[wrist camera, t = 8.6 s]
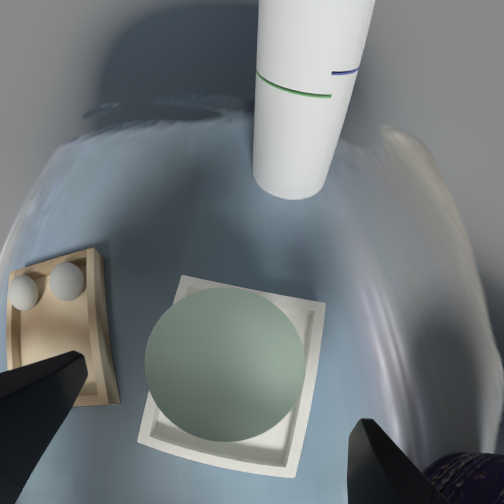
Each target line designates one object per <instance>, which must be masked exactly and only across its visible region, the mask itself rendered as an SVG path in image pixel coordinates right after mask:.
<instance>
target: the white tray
mask: <svg viewBox="0 0 504 504" xmlns="http://www.w3.org/2000/svg"><path fill="white" fill-rule="evenodd" d="M221 287H227V288H237V289H242V290H246V291H249V292H252V293H255V294H257V295H259V296H262V297H264V298H265V299H267V300H269V301H270V302H272V303H273V304H274V305H276V306H277V307H278V308H279V309H280V310H281V311H282V312H283V313H284V314H285V315H286V316H287V317H288V318H289V320H290V321H291V322H292V324H293V325H294V327H295V329H296V331H297V333H298V335H299V337H300V340H301V342H302V346H303V350H304V355H305V376H304V382H303V386H302V389H301V392H300V395H299V397H298V399H297V401H296V403H295V404H294V406H293V407H292V409H291V410H290V412H289V413H288V414H287V415H286V416H285V417H284V418H283V419H282V420H281V421H280V422H279V423H278V424H277V425H275V426H274V427H273V428H271V429H270V430H268V431H266V432H265V433H263V434H260V435H258V436H256V437H253V438H250V439H246V440H242V441H236V442H216V441H209V440H205V439H201V438H198V437H196V436H193V435H191V434H189V433H187V432H185V431H183V430H182V429H180V428H179V427H177V426H176V425H175V424H173V423H172V422H171V421H170V420H169V419H168V418H167V417H166V416H165V415H164V414H163V413H162V412H161V410H160V409H159V408H158V407H157V405H156V403H155V401H154V400H153V398H152V396H151V393H150V391H149V392H148V396H147V400H146V405H145V409H144V413H143V418H142V422H141V427H140V431H139V436H138V441H137V442H138V443H141V444H144V445H146V446H149V447H152V448H155V449H158V450H160V451H163V452H166V453H170V454H173V455H176V456H179V457H183V458H186V459H190V460H193V461H197V462H201V463H205V464H209V465H213V466H218V467H222V468H227V469H232V470H237V471H243V472H249V473H255V474H262V475H270V476H278V477H288V478H295V475H296V471H297V467H298V463H299V459H300V455H301V450H302V446H303V441H304V437H305V432H306V428H307V423H308V418H309V413H310V408H311V402H312V397H313V391H314V386H315V380H316V374H317V368H318V361H319V355H320V348H321V341H322V333H323V325H324V317H325V309H326V303H323V302H317V301H311V300H306V299H300V298H295V297H289V296H284V295H278V294H273V293H268V292H263V291H258V290H252V289H247V288H242V287H237V286H232V285H228V284H223V283H218V282H213V281H208V280H204V279H199V278H195V277H190V276H185V275H182V276H181V279H180V282H179V285H178V288H177V292H176V295H175V298H174V301H173V304H175V303H176V302H177V301H179V300H181V299H182V298H184V297H186V296H188V295H190V294H193V293H195V292H198V291H201V290H205V289H211V288H221Z"/></svg>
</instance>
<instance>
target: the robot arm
mask: <svg viewBox="0 0 504 504" xmlns="http://www.w3.org/2000/svg"><path fill="white" fill-rule="evenodd" d="M87 377H88V369H87V365H86V360H85V356H84V355H83V354H82V353H79V352H77V351H74V350H73V351H69V352H66V353H63V354H60V355H57V356H54V357H51V358H48V359H44V360H41V361H38V362H35V363H32V364H28V365H25V366H22V367H19V368H15V369H12V370H8V371H5V372H2V373H0V504H15V503H16V501H17V499H18V497H19V495H20V493H21V492H22V490H23V489H22V488H24V486H25V484H26V482H27V480H28V479H29V477H30V475H31V473H32V472H33V470H34V468H35V467H36V465H37V463H38V461H39V460H40V458H41V456H42V455H43V453H44V451H45V450H46V448H47V447H48V445H49V443H50V442H51V440H52V439H53V437H54V435H55V434H56V432H57V431H58V429H59V427H60V426H61V424H62V423H63V421H64V420H65V418H66V417H67V415H68V413H69V412H70V410H71V408H72V407H73V405H74V403H75V401H76V399H77V397H78V395H79V393H80V391H81V389H82V387H83V385H84V383H85V381H86V379H87ZM347 489H348V504H451V503H450V502H449V501H448V500H447V499H446V498H445V497H444V496H443V495H442V494H441V493H440V492H439V491H438V490H437V489H436V488H434V486H433V485H432V484H431V482H430V481H429V480H428V479H427V478H426V477H425V476H424V475H423V474H422V473H421V472H420V471H419V469H418V468H417V467H416V466H415V465H414V464H413V463H412V462H411V461H410V460H409V459H408V457H407V456H406V455H405V454H404V453H403V452H402V451H401V450H400V449H399V447H398V446H397V445H396V444H395V443H394V442H393V441H392V440H391V439H390V437H389V436H388V435H387V434H386V433H385V432H384V431H383V430H382V429H381V427H380V426H379V425H378V424H377V423H376V422H375V421H374V420H373V419H365V418H362V419H360V420H359V421H358V422H357V424H356V426H355V427H354V429H353V430H352V432H351V434H350V436H349V445H348V468H347Z"/></svg>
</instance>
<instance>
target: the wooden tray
mask: <svg viewBox="0 0 504 504" xmlns="http://www.w3.org/2000/svg"><path fill="white" fill-rule="evenodd" d="M63 262H69V263H72V264H74V265H76V266H77V267H78V268H79V269H80V270H81V272H82V274H83V277H84V288H83V291H82V293H81V294H80V296H79V297H78V298H76V299H75V300H72V301H62V300H60V299H58V298H57V297H56V296H55V295H54V294H53V293H52V291H51V289H50V285H49V277H50V274H51V271H52V270H53V268H54V267H55V266H57V265H58V264H60V263H63ZM19 275H25V276H28V277H30V278H31V279H32V280H33V281H34V282H35V284H36V286H37V288H38V300H37V303H36V304H35V306H34V307H33V308H32V309H30V310H28V311H21V310H18V309H16V308H15V307H14V306H13V305H12V304H11V302H10V300H9V297H8V299H7V323H6V340H7V364H8V370H12V369H15V368H19V367H22V366H25V365H28V364H32V363H35V362H38V361H41V360H44V359H48V358H51V357H54V356H57V355H60V354H63V353H66V352H69V351H73V350H74V351H77V352H79V353H82V354H83V355H84V356H85V360H86V365H87V369H88V377H87V379H86V381H85V383H84V385H83V387H82V389H81V391H80V393H79V395H78V397H77V399H76V401H75V403H74V405H73V407H84V406H100V405H112V404H121V403H120V398H119V393H118V388H117V383H116V378H115V372H114V366H113V360H112V353H111V346H110V339H109V330H108V321H107V310H106V297H105V280H104V258H103V257H102V256H101V255H100V254H99V252H98V251H97V250H96V249H95V248H94V247H93V248H89V249H86V250H82V251H78V252H75V253H72V254H68V255H65V256H61V257H58V258H55V259H51V260H48V261H45V262H41V263H38V264H35V265H32V266H28V267H25V268H22V269H19V270H16V271H13V272H10V276H9V284H10V282H11V281H12V280H13V279H14V278H15V277H16V276H19ZM8 287H9V286H8Z"/></svg>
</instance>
